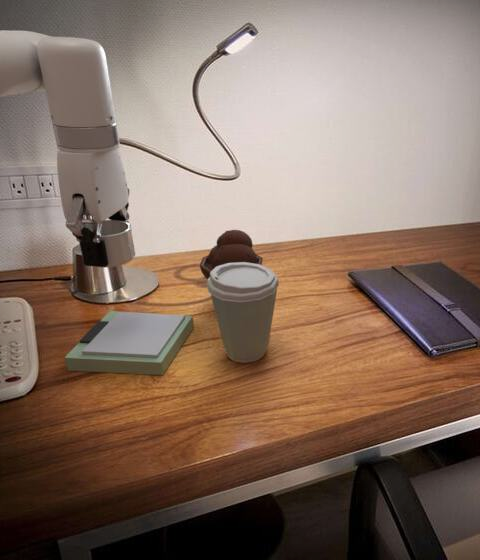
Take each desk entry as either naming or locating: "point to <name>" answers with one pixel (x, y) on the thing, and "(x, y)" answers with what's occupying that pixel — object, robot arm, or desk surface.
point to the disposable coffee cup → (243, 307)
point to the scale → (131, 343)
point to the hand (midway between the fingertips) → (109, 254)
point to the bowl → (116, 241)
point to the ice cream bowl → (230, 251)
